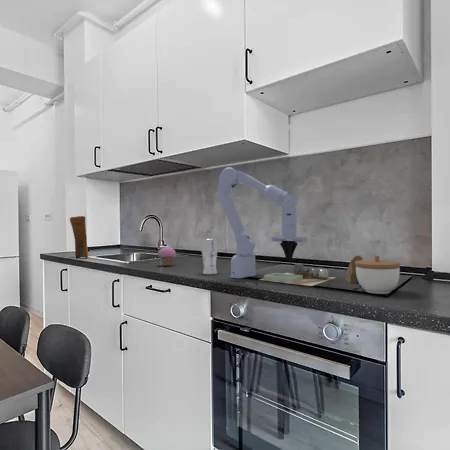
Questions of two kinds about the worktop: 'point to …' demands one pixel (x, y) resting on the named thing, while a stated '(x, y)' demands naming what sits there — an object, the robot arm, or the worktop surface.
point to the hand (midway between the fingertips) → (289, 260)
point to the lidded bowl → (377, 275)
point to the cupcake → (167, 255)
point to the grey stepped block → (298, 268)
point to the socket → (305, 275)
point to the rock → (352, 270)
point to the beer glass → (209, 255)
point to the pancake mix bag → (79, 236)
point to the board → (306, 281)
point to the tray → (283, 277)
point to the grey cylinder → (318, 273)
